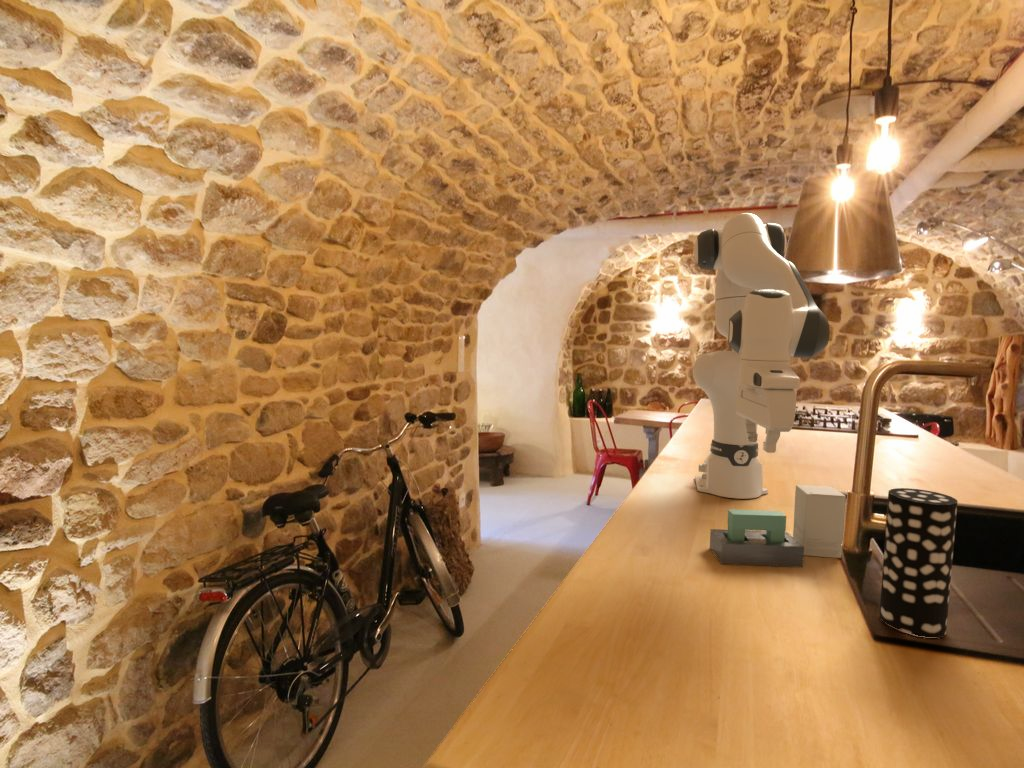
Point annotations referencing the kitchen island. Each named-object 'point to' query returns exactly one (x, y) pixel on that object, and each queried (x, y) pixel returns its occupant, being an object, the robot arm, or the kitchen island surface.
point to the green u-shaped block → (756, 524)
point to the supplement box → (819, 520)
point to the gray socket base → (756, 549)
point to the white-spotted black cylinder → (918, 561)
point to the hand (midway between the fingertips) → (759, 446)
